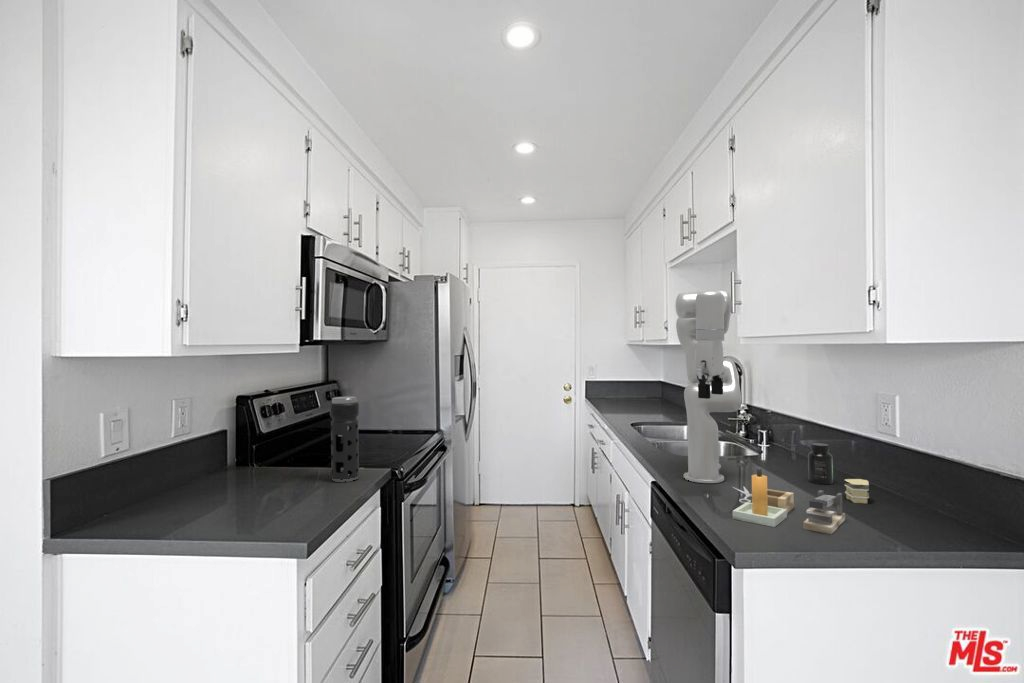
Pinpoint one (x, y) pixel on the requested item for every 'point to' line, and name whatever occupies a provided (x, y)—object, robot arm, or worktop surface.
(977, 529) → the worktop surface
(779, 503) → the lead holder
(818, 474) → the supplement bottle
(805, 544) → the worktop surface
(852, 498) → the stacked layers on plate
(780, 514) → the tray
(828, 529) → the base
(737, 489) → the scissors
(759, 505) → the plug
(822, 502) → the lever
